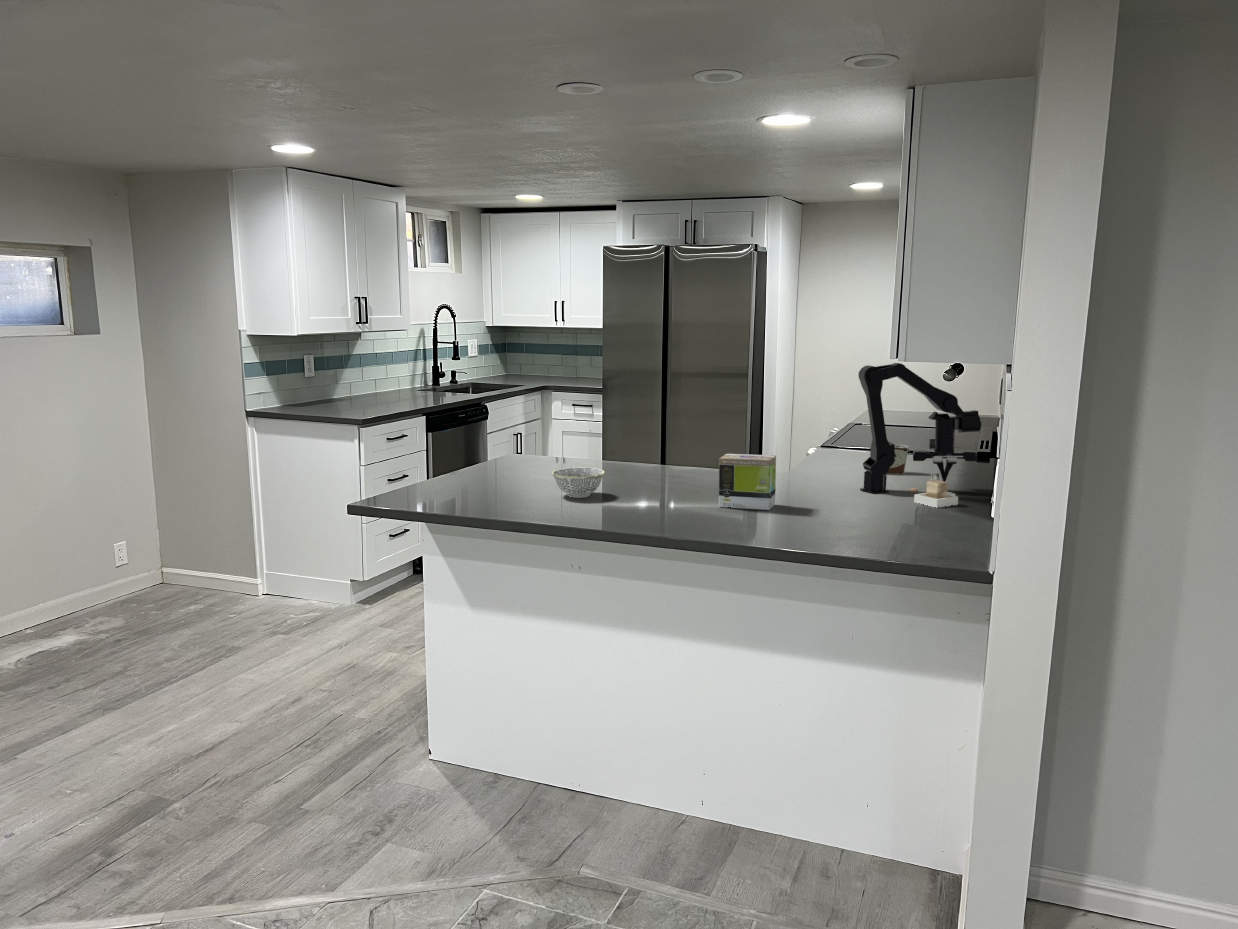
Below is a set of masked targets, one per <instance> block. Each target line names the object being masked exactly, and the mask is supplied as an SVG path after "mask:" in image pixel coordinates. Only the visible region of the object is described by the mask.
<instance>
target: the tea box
mask: <svg viewBox="0 0 1238 929" xmlns="http://www.w3.org/2000/svg"><path fill="white" fill-rule="evenodd" d="M776 467H777V455H772V454H771V455H770V454H769V455H767V454H748V453H747V454H745V453H743V454H742V453H725V454H723V455H722V456H721V457H719V458H718V508H728V507H729V509H731V508H732V509H745V510H746V509H747V510H758V511H770V510H771V509H772V508H773V507H774V506H775V505H776V486H777V485H776V482H777V479H776V475H777V473H776V471H777V470H776V469H777V468H776ZM730 507H731V508H730Z"/></svg>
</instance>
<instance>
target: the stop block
mask: <svg viewBox="0 0 1238 929" xmlns="http://www.w3.org/2000/svg"><path fill="white" fill-rule="evenodd" d="M925 491H926V492H925V493H926V496H927V497H931V498H935V499H941V498H946V497H947V492H948V482H946V481H945V482H943V480H942V481H941V480H939V481H938V480H934V481H931V480H928V481H926V490H925Z"/></svg>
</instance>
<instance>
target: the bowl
mask: <svg viewBox="0 0 1238 929" xmlns="http://www.w3.org/2000/svg"><path fill="white" fill-rule="evenodd" d="M551 473H552V476H553V477H554V480H555V482H556V485H557V486H558V488H559V490H561V491H562V492H563V493H565V494H566V495H567V497H568V496H569V498H572V497H573V498H574V499H582V498H589V497H590V496H591V493H594V492H595V491H596V490H597V489H598V487H599V486H600V484H601V481H602V479H603V476H604V474H605V470H603V469H600V468H595V467H585V466H584V467H581V466H580V467H567V468H566V467H565V468H561V469H555V470H553V471H552V472H551ZM588 496H589V497H588Z"/></svg>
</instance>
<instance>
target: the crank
mask: <svg viewBox="0 0 1238 929" xmlns="http://www.w3.org/2000/svg"><path fill="white" fill-rule="evenodd" d="M939 478H940V473H939V472H931V473H930V481H934V480H938V481H940V479H939Z"/></svg>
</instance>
